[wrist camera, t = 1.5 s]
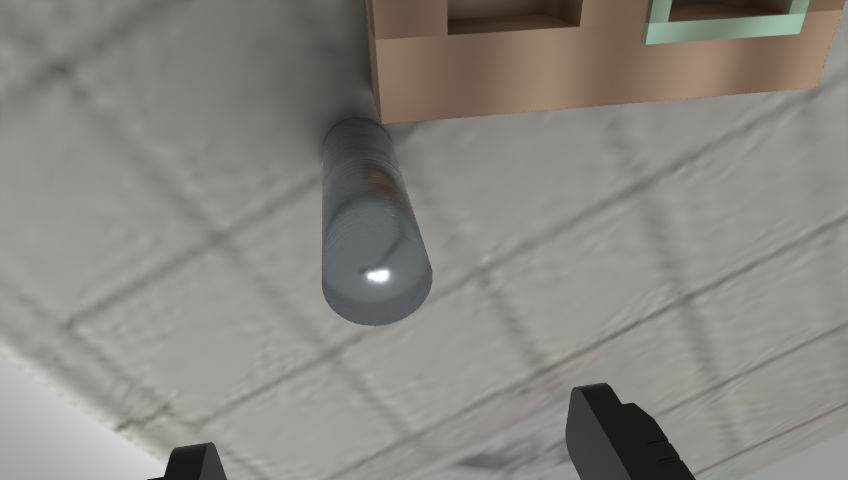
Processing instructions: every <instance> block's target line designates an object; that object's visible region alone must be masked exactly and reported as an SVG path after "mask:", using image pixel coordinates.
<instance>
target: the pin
mask: <svg viewBox="0 0 848 480" xmlns="http://www.w3.org/2000/svg"><path fill="white" fill-rule="evenodd" d="M431 284H432V269H431V265H430V262H429V259H428V256H427V253H426V249H425V246H424V243H423V240H422V237H421V234H420V231H419V228H418V224H417V221H416V218H415V215H414V212H413V209H412V206H411V203H410V199H409V196H408V193H407V190H406V187H405V184H404V181H403V178H402V174H401V171H400V168H399V165H398V162H397V159H396V156H395V153H394V149H393V146H392V143H391V140H390V138H389V136H388V134H387V133H386V131H385V130H384V129H383V128H382V127H381V126H379V125H378V124H377V123H375V122H373V121H370V120H367V119H362V118H353V119H348V120H345V121H342V122H340V123H339V124H337V125H336V126H334V127H333V128H332V129H331V130H330V132H329V133H328V135H327V136H326V138H325V141H324V145H323V195H322V290H323V294H324V296H325V299H326V301H327V302H328V304H329V306H330V307H331V308H332V309H333V310H334V311H335V312H336V313H337V314H338V315H340V316H341V317H343V318H345V319H347V320H348V321H351V322H354V323H357V324H361V325H369V326H377V325H385V324H390V323H394V322H397V321H399V320H402V319H403V318H405V317H407V316H409V315H410V314H412V313H413V312H414V311H415V310H417V309H418V308H419V307H420V306H421V305H422V303H423V302H424V301H425V299H426V297H427V296H428V294H429V291H430V288H431Z"/></svg>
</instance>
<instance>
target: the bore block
mask: <svg viewBox="0 0 848 480" xmlns="http://www.w3.org/2000/svg"><path fill="white" fill-rule="evenodd" d="M845 1H846V0H365V9H366V21H367V33H368V45H369V57H370V69H371V81H372V93H373V96H374V100H375V103H376V106H377V110H378V113H379V116H380V120H381V123H382V124H390V123H402V122H414V121H426V120H437V119H449V118H461V117H473V116H485V115H497V114H509V113H521V112H533V111H545V110H557V109H568V108H580V107H592V106H604V105H616V104H628V103H640V102H652V101H664V100H676V99H688V98H699V97H711V96H723V95H735V94H747V93H759V92H771V91H783V90H795V89H807V88H816V86H817V83H818V80H819V77H820V74H821V71H822V68H823V65H824V62H825V59H826V56H827V53H828V50H829V48H830V45H831V42H832V39H833V36H834V33H835V30H836V27H837V24H838V21H839V18H840V15H841V12H842V9H843V6H844V3H845Z"/></svg>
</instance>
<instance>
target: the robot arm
mask: <svg viewBox="0 0 848 480" xmlns="http://www.w3.org/2000/svg"><path fill="white" fill-rule="evenodd" d="M566 443H567V448H568V452H569V455H570V457H571V460H572V462H573V464H574V466H575V468H576V470H577V472H578V474H579V477H580V479H581V480H696V479H695V478H694V476H693V475H692V474H691V472H690V471H689V469H688V468H687V466H686V465H685V463H684V462H683V460H682V461H681V460H680V458H679V455H678V453H677V452H676V450H675V449H674V447H673V446H672V444H671V443H670V444H669V442H668V439H667V437H666V436H665V434H664V433H663V431H662V430H661V428H660V427H659V425H658V424H657V423H656V421H655V420H654V419H653V418H652V417H651V416H650V415H648V414H647V413H646V412H645V411H643V410H642V409H641V408H640V407H638V406H637V405H636V404H635V403H628V404H622V403H621V402H620V400H619V399H618V397H617V396H616V394H615V393H614V391H613V389H612V388H611V387H610V386H609V385H608V384H607V383H599V384H592V385H586V386H579V387H574V388H573V389H572V392H571V398H570V404H569V411H568V418H567V424H566ZM148 480H227V478H226V475H225V473H224V470H223V467H222V464H221V461H220V458H219V455H218V453H217V450H216V447H215V445H214V443H212V442H209V443H203V444H197V445H190V446H184V447H177V448H175V449H173V451H172V453H171V455H170V458H169V461H168V465H167V468H166V472H165V475H164V477H160V478H154V479H148Z"/></svg>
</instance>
